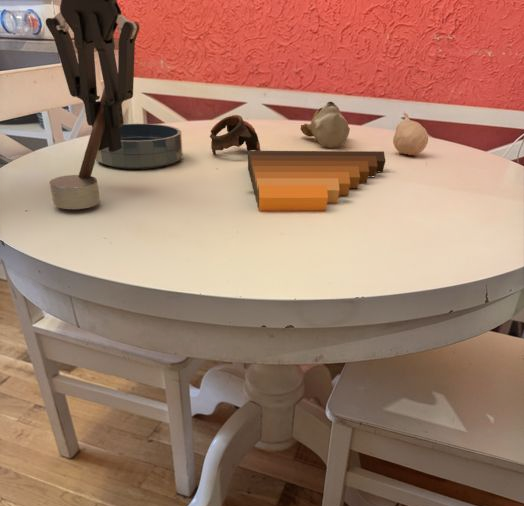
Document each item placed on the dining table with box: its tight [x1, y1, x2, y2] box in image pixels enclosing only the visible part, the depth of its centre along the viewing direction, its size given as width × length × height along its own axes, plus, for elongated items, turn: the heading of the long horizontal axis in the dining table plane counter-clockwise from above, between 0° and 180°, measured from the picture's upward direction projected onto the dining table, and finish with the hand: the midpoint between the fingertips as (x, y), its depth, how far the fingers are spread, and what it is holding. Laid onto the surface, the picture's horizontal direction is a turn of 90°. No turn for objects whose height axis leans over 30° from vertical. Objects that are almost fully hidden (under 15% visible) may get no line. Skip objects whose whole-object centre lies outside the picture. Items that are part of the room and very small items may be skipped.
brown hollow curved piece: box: [209, 114, 261, 156], centre depth 100 cm, size 12×10×8 cm
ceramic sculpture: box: [300, 101, 351, 149], centre depth 110 cm, size 11×9×15 cm
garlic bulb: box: [392, 111, 429, 156], centre depth 103 cm, size 7×6×8 cm
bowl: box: [95, 123, 184, 170], centre depth 94 cm, size 16×16×5 cm
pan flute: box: [247, 150, 386, 212], centre depth 83 cm, size 25×3×25 cm
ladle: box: [49, 87, 107, 210], centre depth 73 cm, size 18×6×14 cm, turn 166°
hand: (108, 148), depth 78 cm, fingers closed on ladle, 2 cm apart
